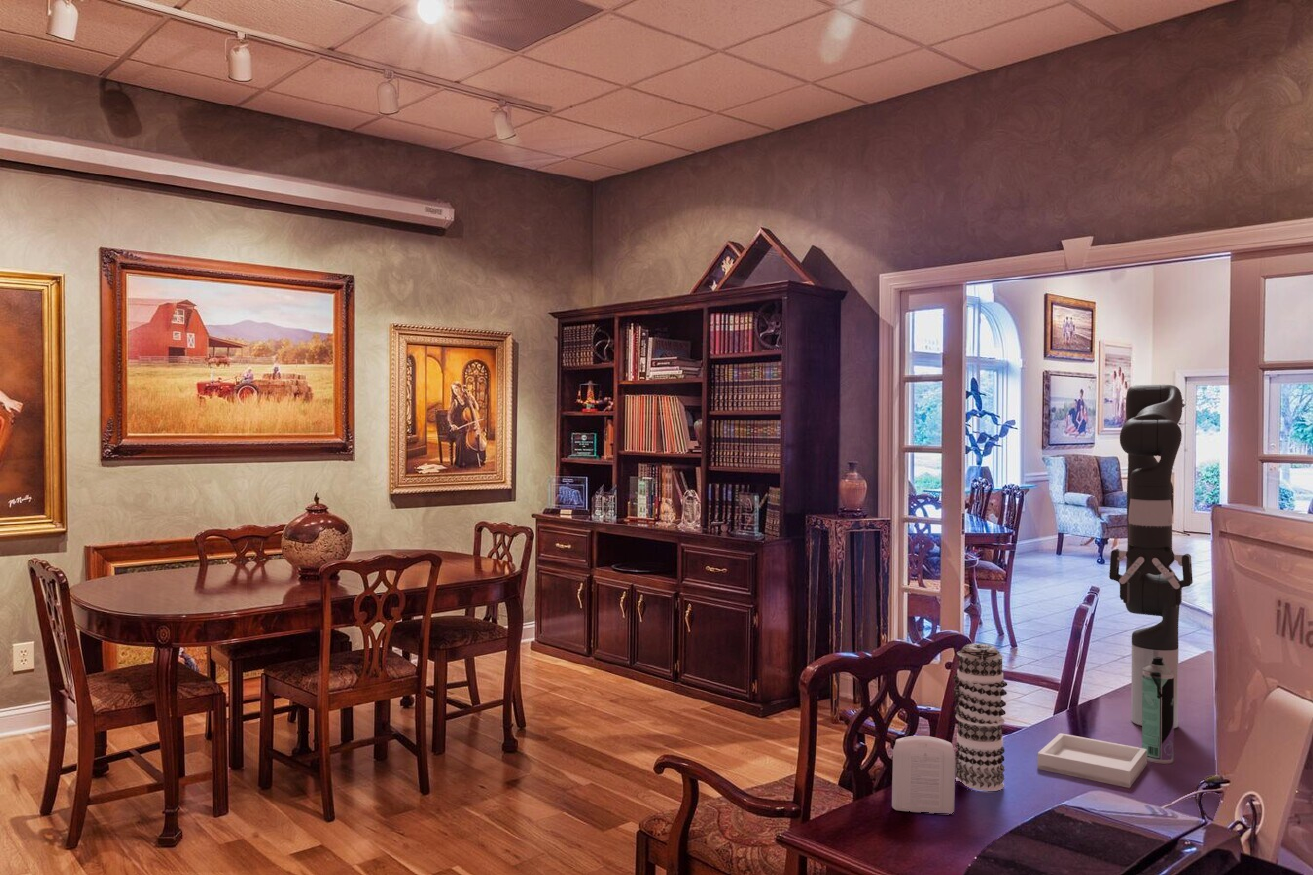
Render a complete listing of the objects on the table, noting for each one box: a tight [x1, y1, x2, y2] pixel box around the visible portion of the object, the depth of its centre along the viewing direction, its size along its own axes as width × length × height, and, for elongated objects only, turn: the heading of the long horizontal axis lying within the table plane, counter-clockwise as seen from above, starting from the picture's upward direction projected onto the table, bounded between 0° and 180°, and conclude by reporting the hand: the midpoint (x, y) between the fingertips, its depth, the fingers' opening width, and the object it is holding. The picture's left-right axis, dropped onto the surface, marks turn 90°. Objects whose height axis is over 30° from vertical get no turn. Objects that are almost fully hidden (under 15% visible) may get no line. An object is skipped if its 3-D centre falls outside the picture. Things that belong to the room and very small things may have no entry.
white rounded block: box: [891, 735, 956, 815], centre depth 160 cm, size 10×4×12 cm, turn 81°
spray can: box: [1141, 657, 1175, 765], centre depth 187 cm, size 6×6×20 cm
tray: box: [1036, 732, 1148, 789], centre depth 182 cm, size 16×16×3 cm
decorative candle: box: [953, 643, 1008, 791], centre depth 173 cm, size 9×9×25 cm
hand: (1150, 604), depth 185 cm, fingers open, 8 cm apart
